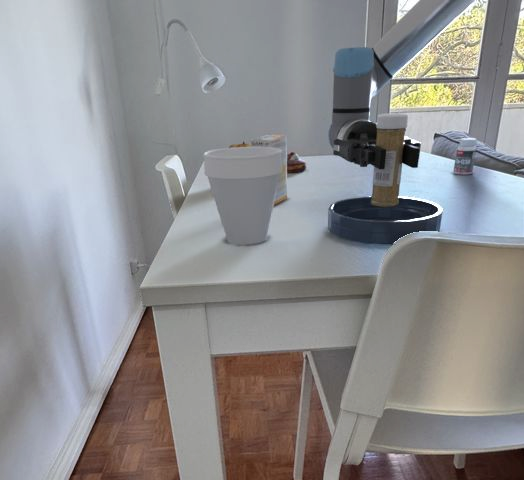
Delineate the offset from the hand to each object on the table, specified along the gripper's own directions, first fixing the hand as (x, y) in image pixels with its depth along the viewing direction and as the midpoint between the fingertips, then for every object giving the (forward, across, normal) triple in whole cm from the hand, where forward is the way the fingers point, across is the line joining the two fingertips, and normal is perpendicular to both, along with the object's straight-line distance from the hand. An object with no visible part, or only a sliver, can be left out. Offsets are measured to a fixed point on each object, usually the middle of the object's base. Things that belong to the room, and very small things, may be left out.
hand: (399, 158), depth 69 cm
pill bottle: (-55, -36, -12) cm, 67 cm away
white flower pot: (-5, +23, -13) cm, 27 cm away
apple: (-57, +22, -13) cm, 63 cm away
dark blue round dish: (-5, 0, -12) cm, 13 cm away
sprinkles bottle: (-5, 0, -8) cm, 10 cm away
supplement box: (-32, +17, -13) cm, 39 cm away
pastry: (-72, +7, -13) cm, 74 cm away
